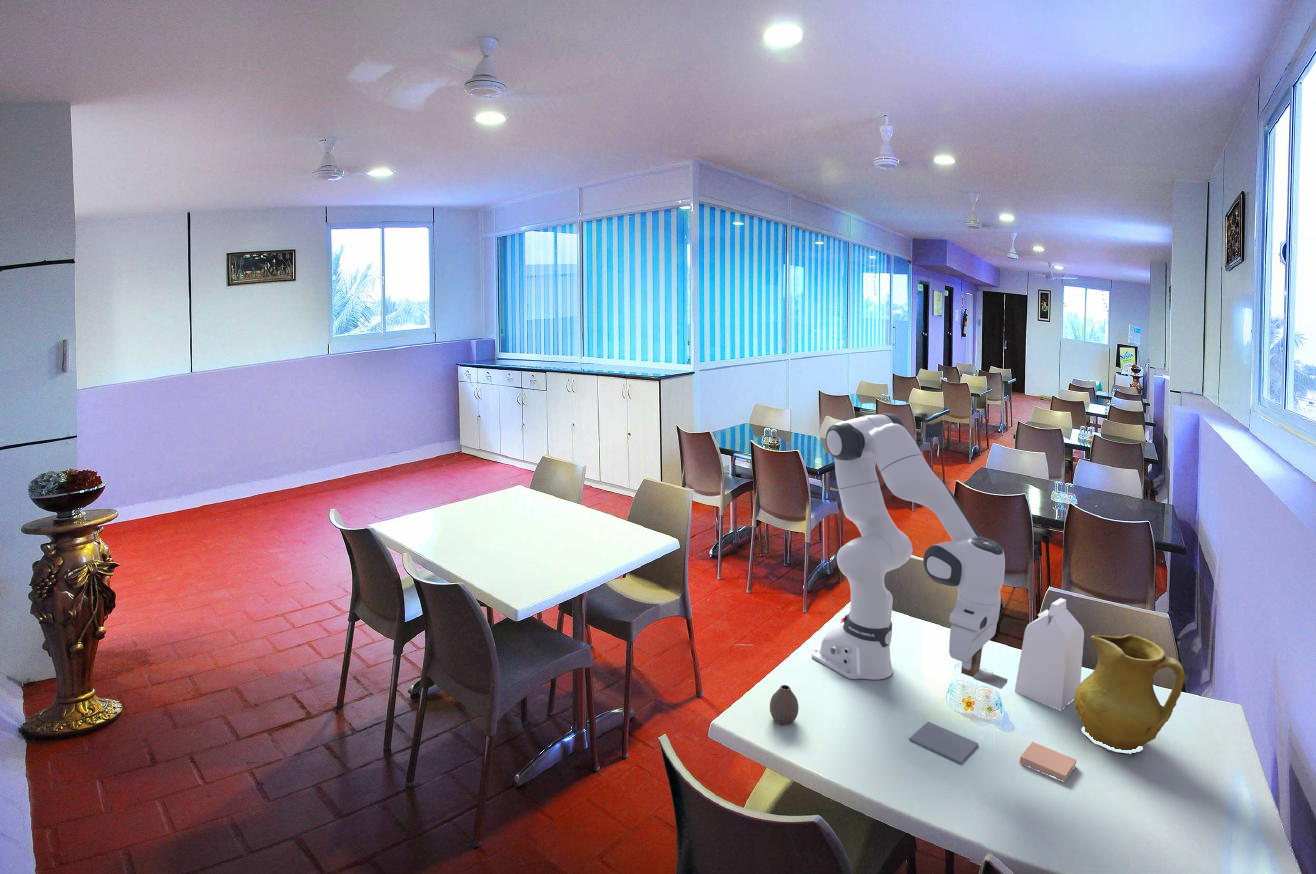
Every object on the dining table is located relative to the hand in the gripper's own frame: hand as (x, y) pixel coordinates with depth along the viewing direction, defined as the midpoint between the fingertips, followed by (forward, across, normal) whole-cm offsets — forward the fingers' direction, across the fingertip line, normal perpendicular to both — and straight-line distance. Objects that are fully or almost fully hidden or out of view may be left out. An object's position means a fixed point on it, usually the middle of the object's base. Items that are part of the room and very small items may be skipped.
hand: (970, 664), depth 159 cm
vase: (+19, +25, -34) cm, 46 cm away
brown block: (+2, 0, +3) cm, 4 cm away
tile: (+18, -3, +13) cm, 22 cm away
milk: (+19, -36, +9) cm, 42 cm away
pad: (+19, +5, -2) cm, 19 cm away
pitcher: (+18, -25, +27) cm, 41 cm away
